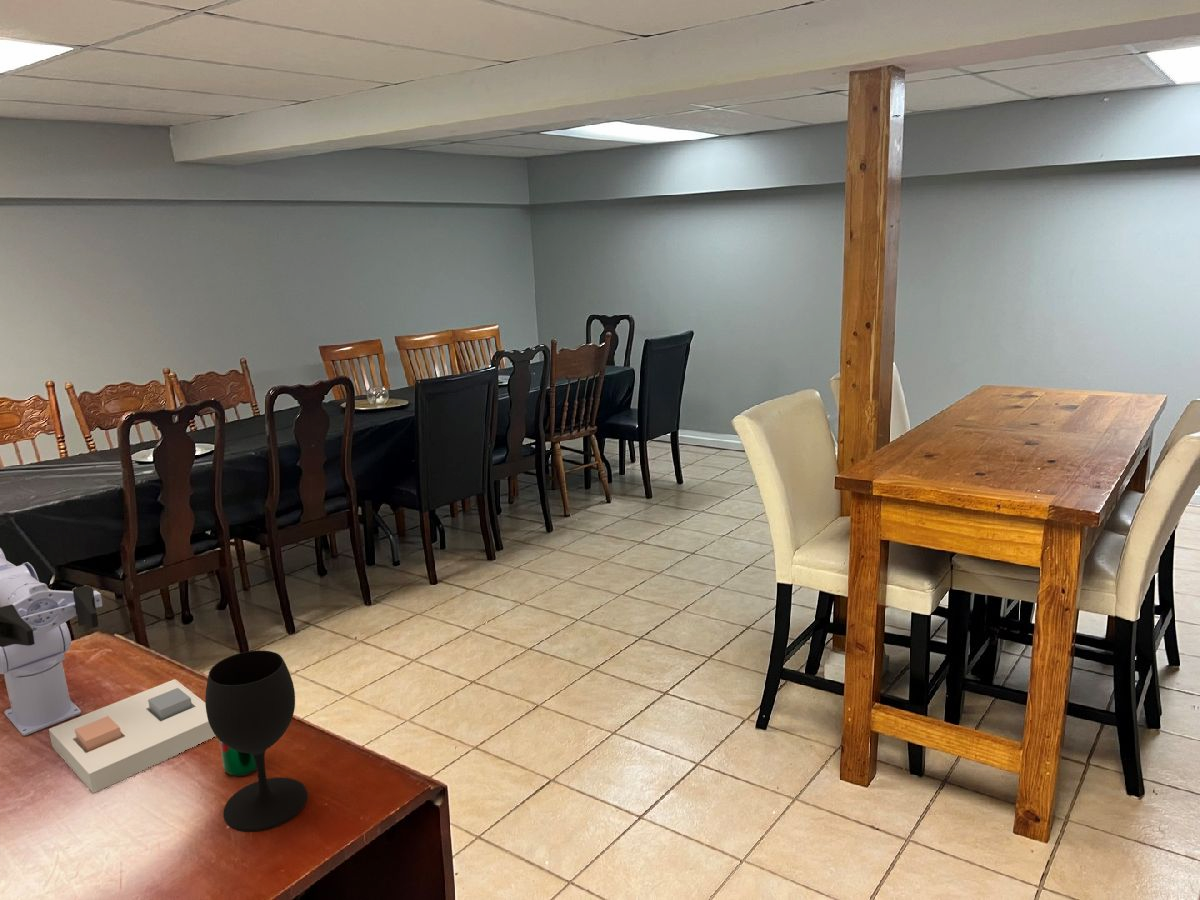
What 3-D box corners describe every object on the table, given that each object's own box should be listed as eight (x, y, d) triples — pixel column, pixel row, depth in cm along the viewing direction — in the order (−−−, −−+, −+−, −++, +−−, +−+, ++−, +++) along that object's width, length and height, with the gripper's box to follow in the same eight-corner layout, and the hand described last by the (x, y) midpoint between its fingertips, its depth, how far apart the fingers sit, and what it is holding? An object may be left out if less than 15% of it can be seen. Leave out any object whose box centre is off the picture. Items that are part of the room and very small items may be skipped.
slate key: (150, 711, 131) (148, 699, 130) (179, 699, 134) (177, 687, 133) (162, 722, 128) (160, 710, 127) (192, 709, 131) (190, 697, 131)
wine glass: (222, 792, 116) (201, 657, 111) (304, 771, 120) (287, 640, 115) (223, 841, 107) (200, 697, 102) (311, 817, 111) (293, 677, 106)
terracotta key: (77, 741, 124) (74, 729, 123) (110, 728, 127) (107, 715, 126) (88, 753, 121) (85, 741, 120) (122, 739, 124) (119, 727, 123)
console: (52, 747, 127) (48, 729, 126) (177, 695, 140) (174, 679, 139) (93, 793, 117) (89, 773, 116) (224, 733, 129) (221, 715, 129)
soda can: (249, 780, 119) (238, 701, 115) (216, 776, 120) (204, 698, 116) (270, 757, 123) (259, 682, 120) (238, 754, 124) (226, 678, 121)
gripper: (-34, 590, 119) (-5, 616, 110) (82, 563, 130) (118, 585, 121) (-27, 638, 121) (3, 668, 112) (88, 608, 131) (123, 633, 123)
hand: (63, 628), depth 117 cm, fingers open, 7 cm apart
